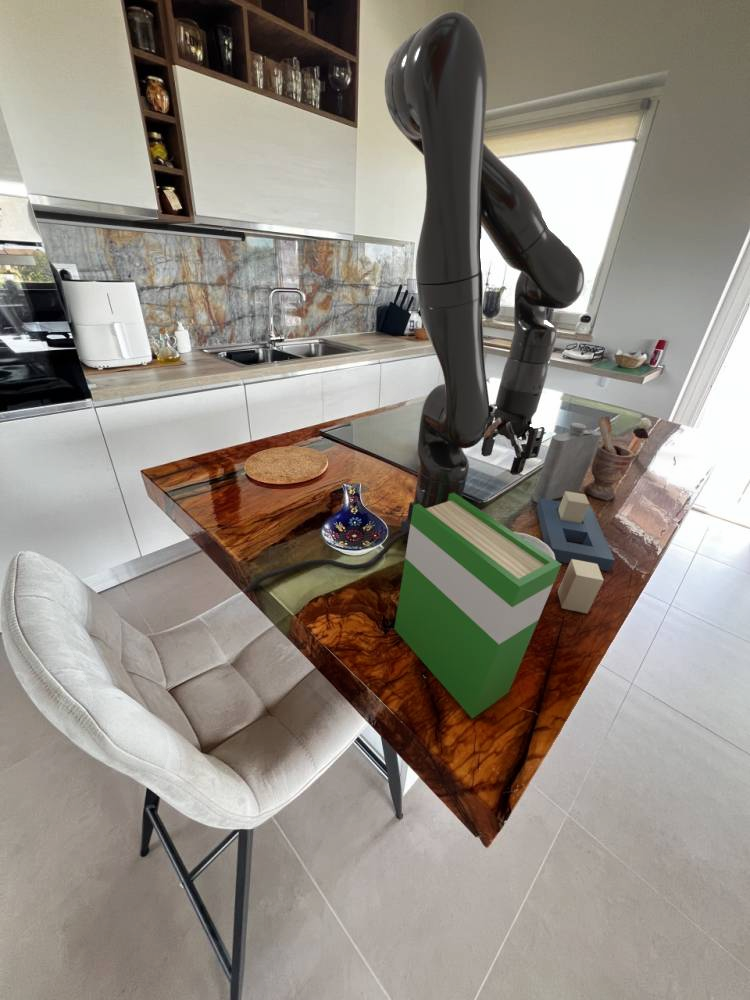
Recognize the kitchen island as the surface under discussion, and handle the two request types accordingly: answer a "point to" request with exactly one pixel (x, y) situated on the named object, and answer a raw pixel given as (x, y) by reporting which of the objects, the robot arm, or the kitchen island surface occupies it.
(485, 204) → the robot arm
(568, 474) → the hip flask
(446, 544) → the hardback book
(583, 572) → the beige block
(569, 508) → the beige wooden block
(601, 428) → the mortar and pestle
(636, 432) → the grandmother figurine
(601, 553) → the holder
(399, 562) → the kitchen island surface
